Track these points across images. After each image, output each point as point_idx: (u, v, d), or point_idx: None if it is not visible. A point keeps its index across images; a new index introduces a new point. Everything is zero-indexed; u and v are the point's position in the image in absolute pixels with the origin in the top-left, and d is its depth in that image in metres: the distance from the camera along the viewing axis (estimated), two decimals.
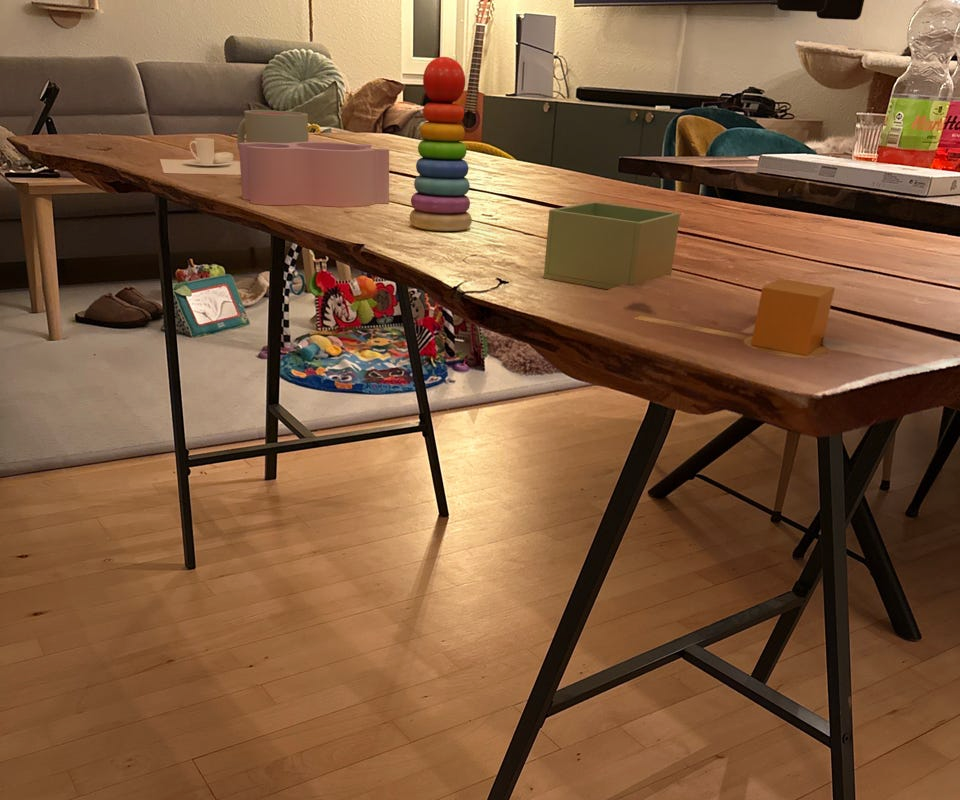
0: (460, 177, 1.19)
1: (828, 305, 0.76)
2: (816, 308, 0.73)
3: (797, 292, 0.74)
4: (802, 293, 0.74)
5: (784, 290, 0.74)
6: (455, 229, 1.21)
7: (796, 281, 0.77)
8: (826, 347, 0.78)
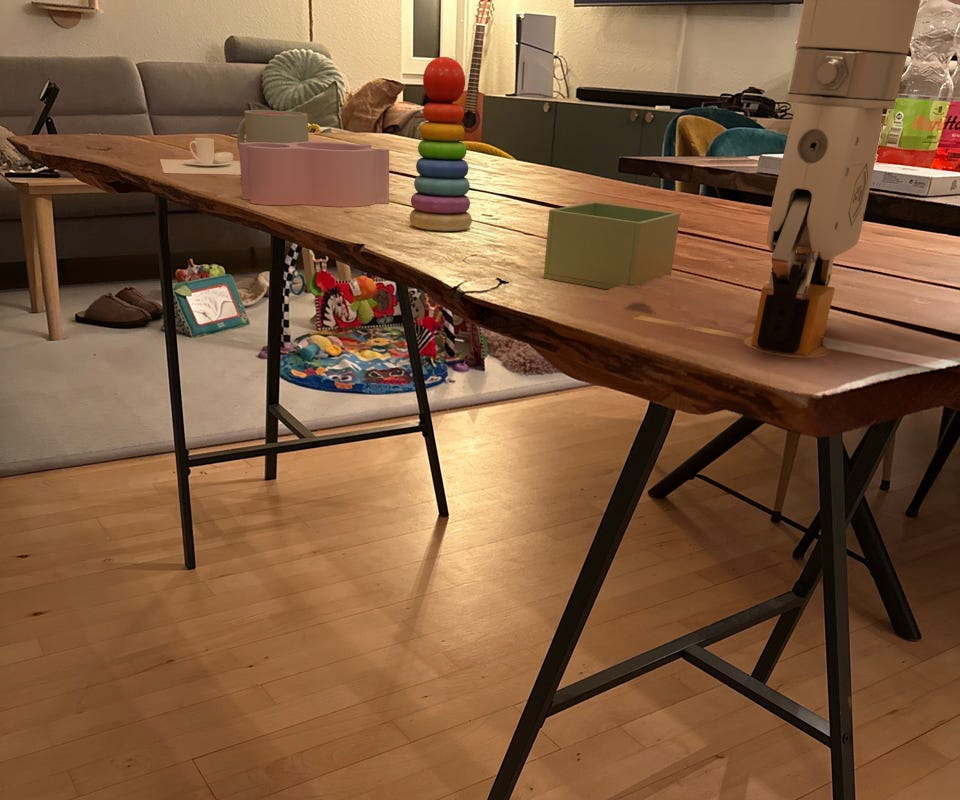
0: (460, 177, 1.19)
1: (828, 305, 0.76)
2: (816, 308, 0.73)
3: None
4: None
5: None
6: (455, 229, 1.21)
7: None
8: (826, 347, 0.78)
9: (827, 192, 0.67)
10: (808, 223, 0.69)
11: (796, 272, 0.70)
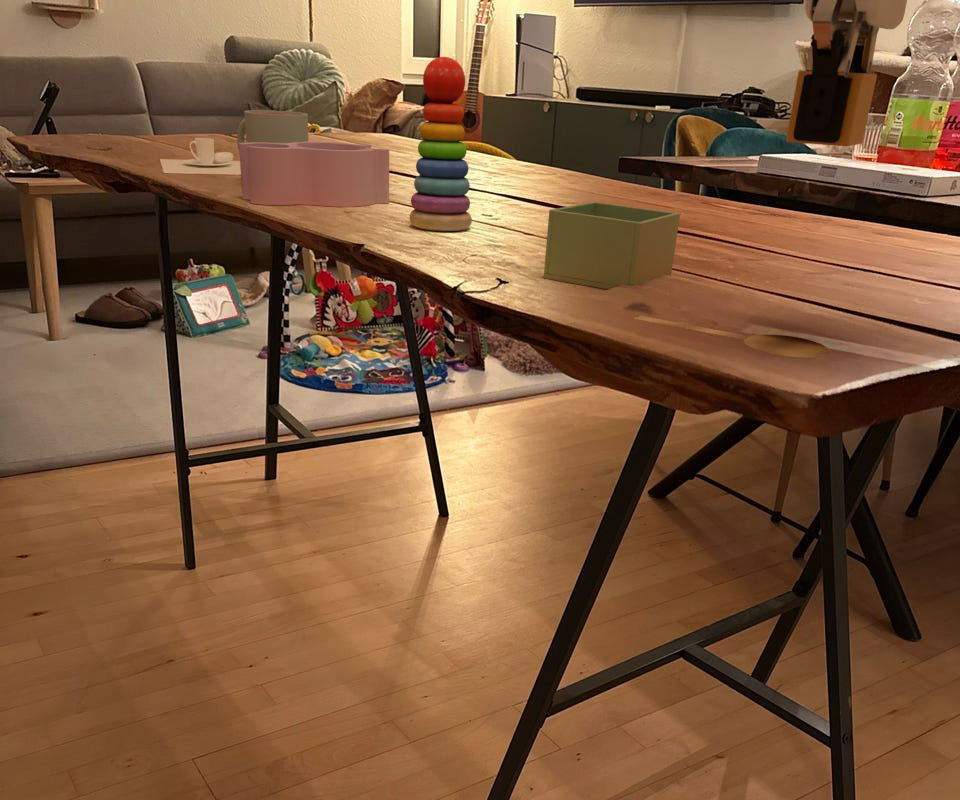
0: (460, 177, 1.19)
1: (870, 93, 0.69)
2: (859, 88, 0.67)
3: None
4: None
5: None
6: (455, 229, 1.21)
7: None
8: (826, 347, 0.78)
9: None
10: None
11: (839, 39, 0.64)
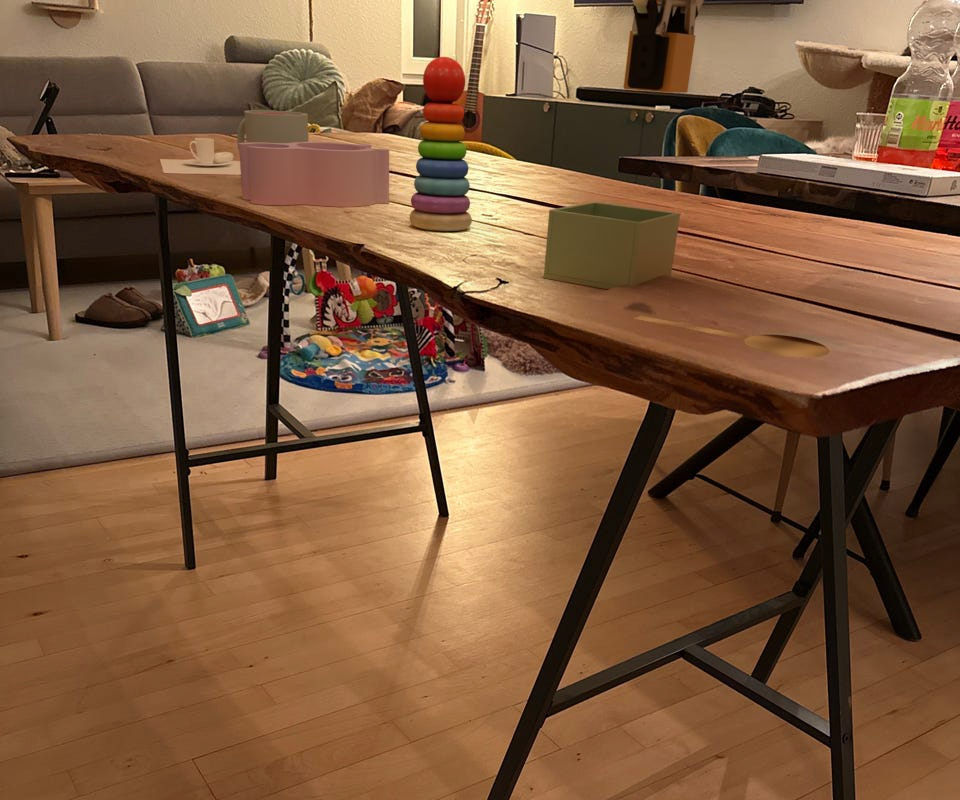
0: (460, 177, 1.19)
1: (690, 51, 0.87)
2: (675, 45, 0.84)
3: None
4: None
5: None
6: (455, 229, 1.21)
7: None
8: (826, 347, 0.78)
9: None
10: None
11: (653, 4, 0.81)
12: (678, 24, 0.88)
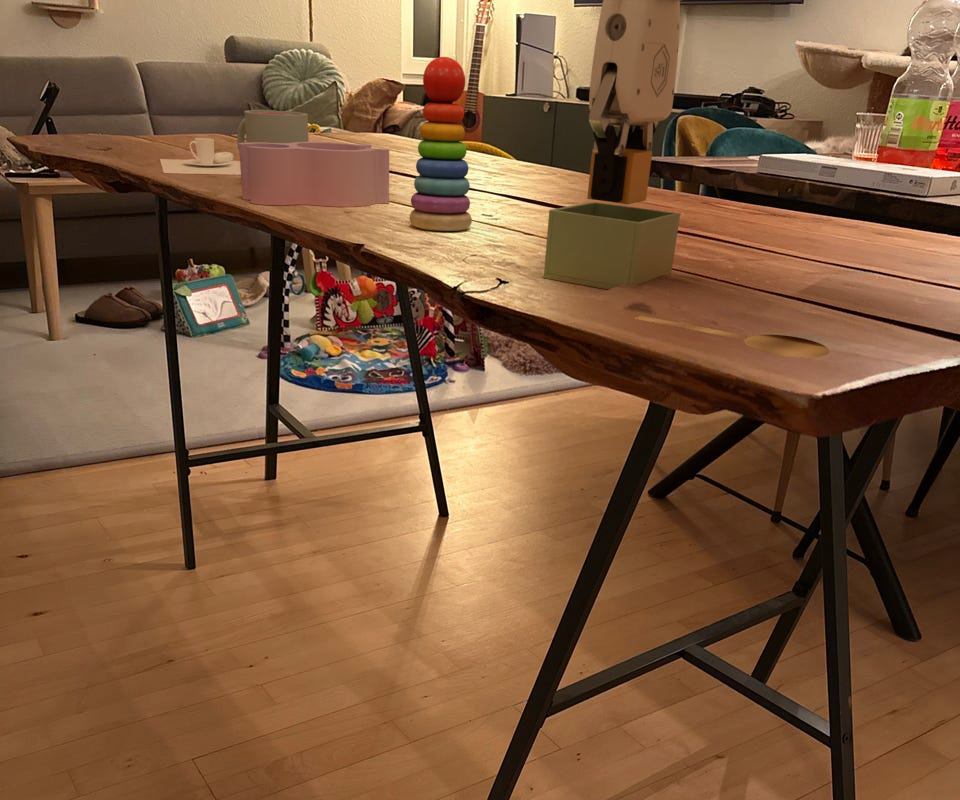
0: (460, 177, 1.19)
1: (647, 165, 0.95)
2: (632, 163, 0.93)
3: None
4: None
5: None
6: (455, 229, 1.21)
7: None
8: (826, 347, 0.78)
9: (628, 63, 0.86)
10: (616, 90, 0.88)
11: (611, 131, 0.90)
12: (637, 140, 0.96)
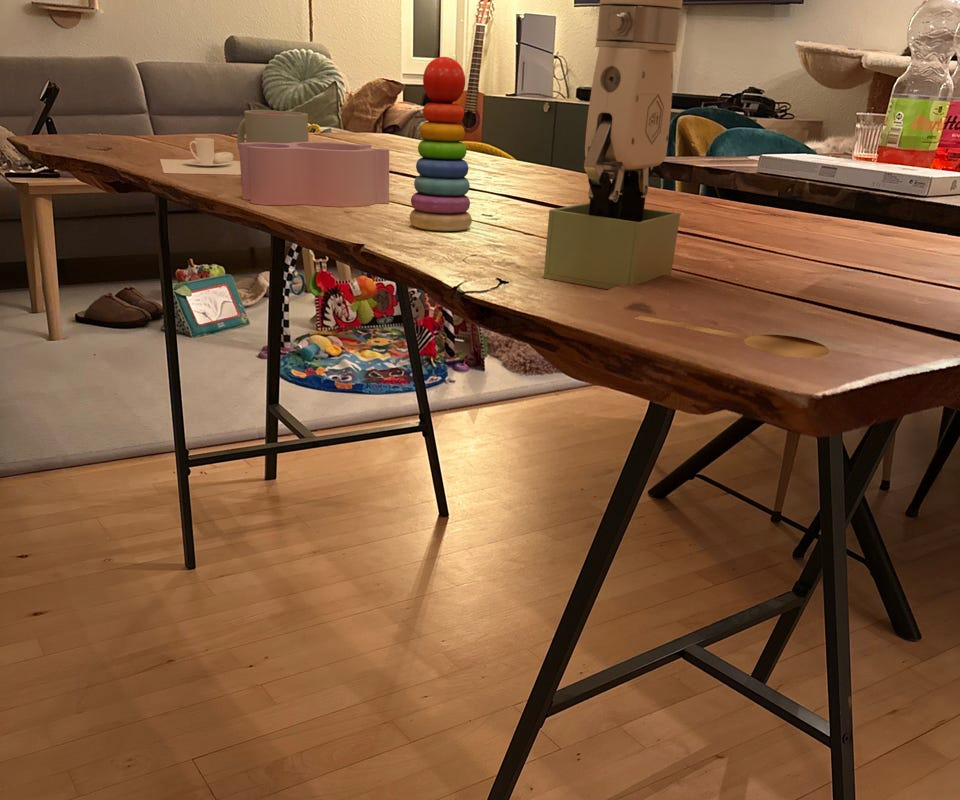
0: (460, 177, 1.19)
1: None
2: None
3: None
4: None
5: None
6: (455, 229, 1.21)
7: None
8: (826, 347, 0.78)
9: (623, 114, 0.89)
10: (611, 139, 0.90)
11: (605, 178, 0.92)
12: (633, 183, 0.99)
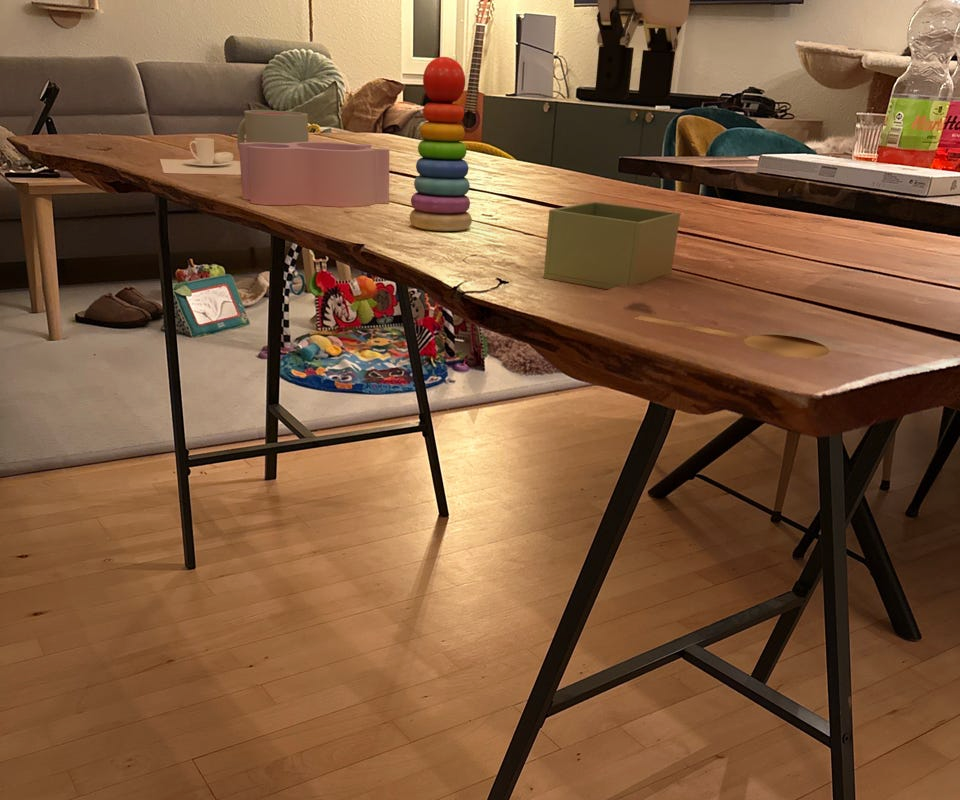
0: (460, 177, 1.19)
1: None
2: None
3: None
4: None
5: None
6: (455, 229, 1.21)
7: None
8: (826, 347, 0.78)
9: None
10: None
11: (616, 16, 0.83)
12: (662, 37, 0.93)
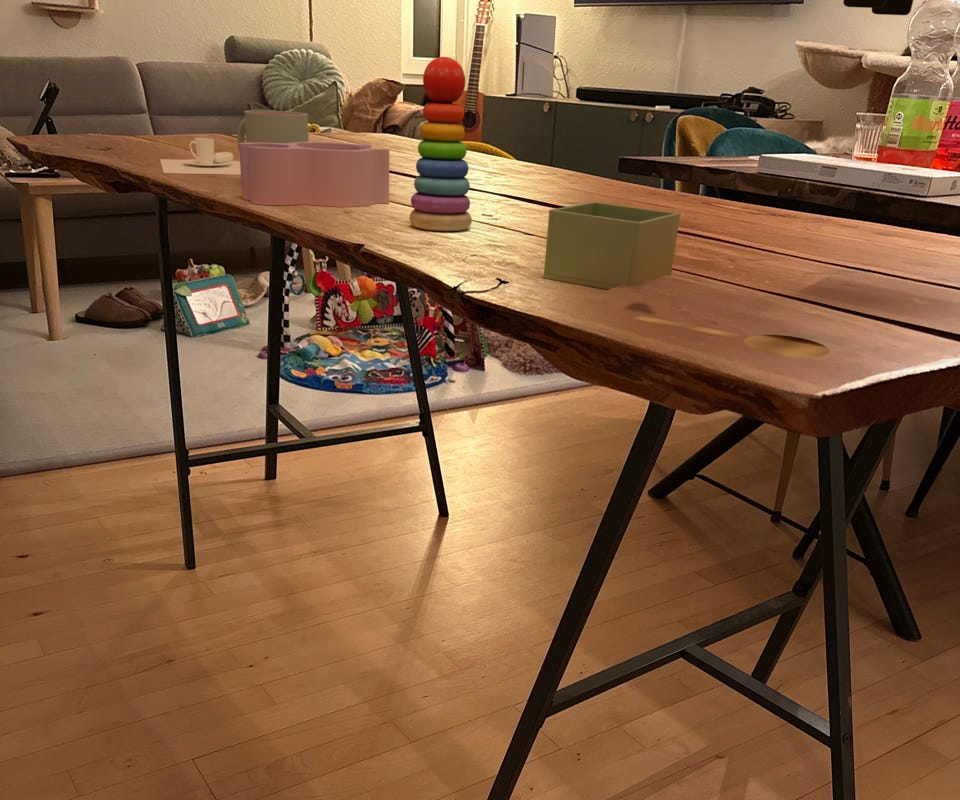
0: (460, 177, 1.19)
1: None
2: None
3: None
4: None
5: None
6: (455, 229, 1.21)
7: None
8: (826, 347, 0.78)
9: None
10: None
11: None
12: None
